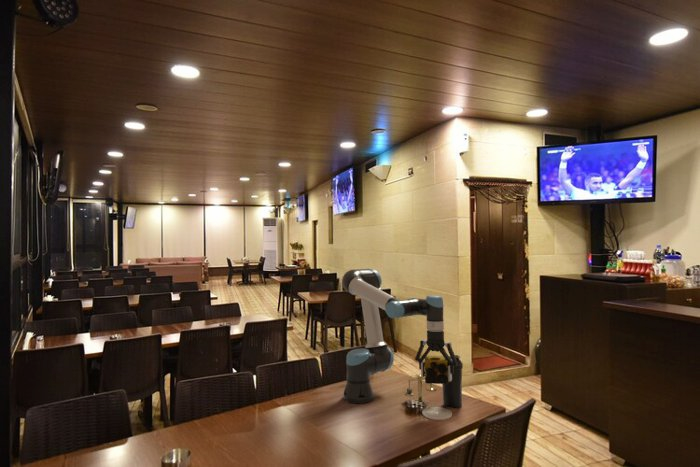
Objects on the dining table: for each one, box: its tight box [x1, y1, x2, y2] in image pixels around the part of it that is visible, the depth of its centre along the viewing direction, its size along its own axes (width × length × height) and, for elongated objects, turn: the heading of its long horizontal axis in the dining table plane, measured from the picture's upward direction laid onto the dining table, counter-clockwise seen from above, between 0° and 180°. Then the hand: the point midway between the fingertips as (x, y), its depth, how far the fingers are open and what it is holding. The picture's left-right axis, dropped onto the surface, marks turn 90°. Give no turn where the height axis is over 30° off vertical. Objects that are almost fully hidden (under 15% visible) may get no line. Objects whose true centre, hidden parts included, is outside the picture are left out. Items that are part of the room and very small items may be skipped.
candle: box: [424, 355, 448, 385], centre depth 187 cm, size 10×10×10 cm
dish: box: [422, 406, 453, 421], centre depth 186 cm, size 13×13×1 cm
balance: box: [403, 374, 437, 406], centre depth 199 cm, size 16×5×14 cm, turn 59°
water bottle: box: [441, 354, 464, 409], centre depth 197 cm, size 10×10×23 cm
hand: (436, 378), depth 187 cm, fingers closed on candle, 12 cm apart
